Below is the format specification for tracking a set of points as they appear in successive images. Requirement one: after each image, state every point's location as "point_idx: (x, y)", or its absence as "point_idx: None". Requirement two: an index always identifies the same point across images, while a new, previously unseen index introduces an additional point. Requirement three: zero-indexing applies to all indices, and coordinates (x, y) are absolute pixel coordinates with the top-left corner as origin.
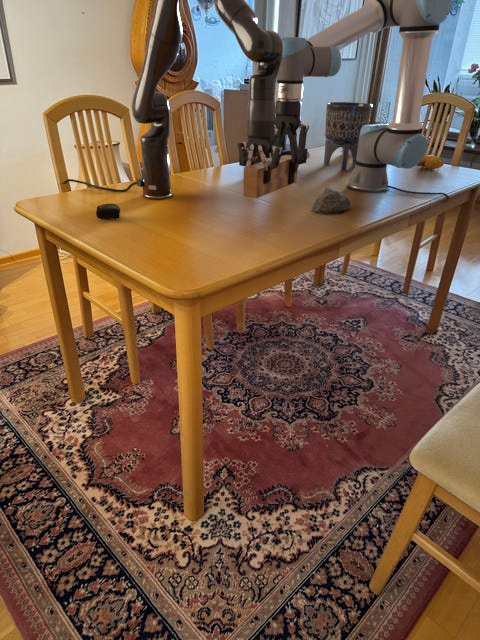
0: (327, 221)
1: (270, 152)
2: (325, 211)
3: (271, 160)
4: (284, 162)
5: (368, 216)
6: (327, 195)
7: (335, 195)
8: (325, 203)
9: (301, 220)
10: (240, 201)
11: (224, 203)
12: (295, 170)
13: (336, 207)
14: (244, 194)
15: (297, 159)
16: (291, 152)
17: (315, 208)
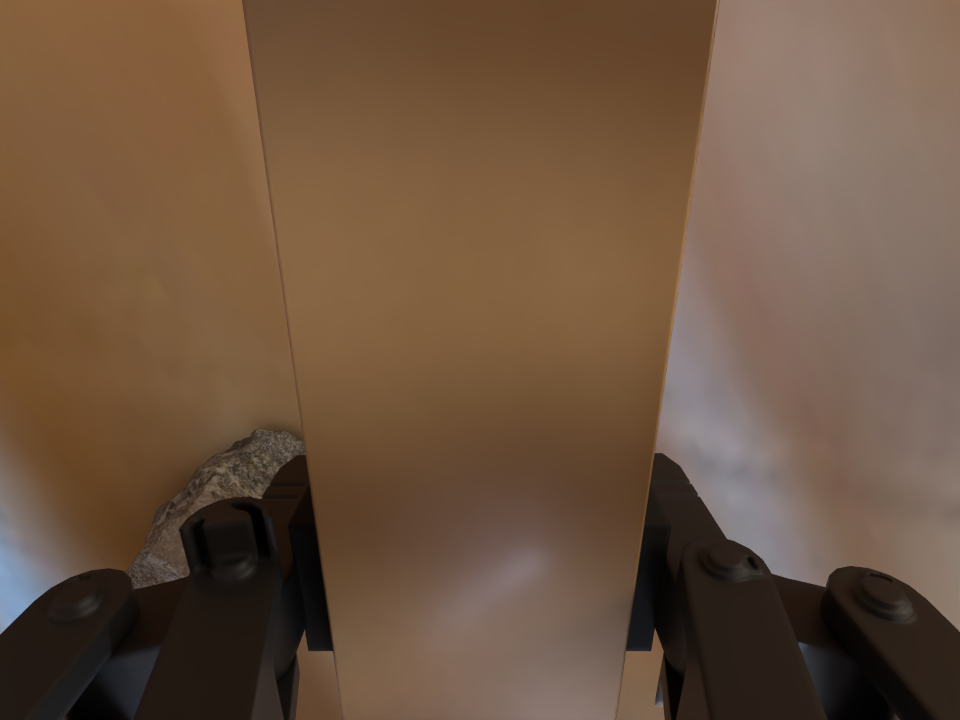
0: (128, 320)
1: (863, 655)
2: (226, 452)
3: (593, 210)
4: (301, 349)
5: (34, 545)
6: (169, 525)
7: (134, 561)
8: (201, 477)
9: (265, 229)
10: (855, 357)
11: (956, 240)
12: (274, 480)
13: (165, 505)
14: None
15: (124, 586)
16: (228, 715)
17: (296, 453)
